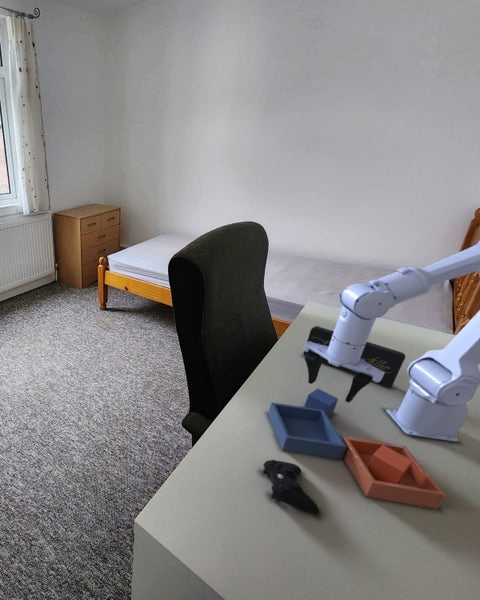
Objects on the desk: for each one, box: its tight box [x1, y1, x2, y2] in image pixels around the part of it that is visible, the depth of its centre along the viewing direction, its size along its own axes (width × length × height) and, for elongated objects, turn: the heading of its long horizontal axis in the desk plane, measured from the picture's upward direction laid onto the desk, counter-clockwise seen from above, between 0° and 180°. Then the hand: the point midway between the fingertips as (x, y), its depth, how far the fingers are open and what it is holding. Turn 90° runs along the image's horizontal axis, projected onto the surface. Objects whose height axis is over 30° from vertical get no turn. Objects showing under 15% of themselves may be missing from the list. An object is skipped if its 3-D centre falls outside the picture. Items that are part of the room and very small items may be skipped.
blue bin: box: [267, 402, 346, 460], centre depth 74 cm, size 11×11×4 cm
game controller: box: [262, 459, 320, 515], centre depth 62 cm, size 10×5×7 cm
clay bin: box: [341, 436, 447, 510], centre depth 64 cm, size 11×11×4 cm
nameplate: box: [302, 325, 406, 388], centre depth 95 cm, size 21×2×10 cm, turn 41°
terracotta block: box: [367, 445, 412, 484], centre depth 64 cm, size 4×4×4 cm
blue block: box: [303, 388, 339, 418], centre depth 80 cm, size 4×4×4 cm
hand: (329, 390), depth 77 cm, fingers open, 7 cm apart
